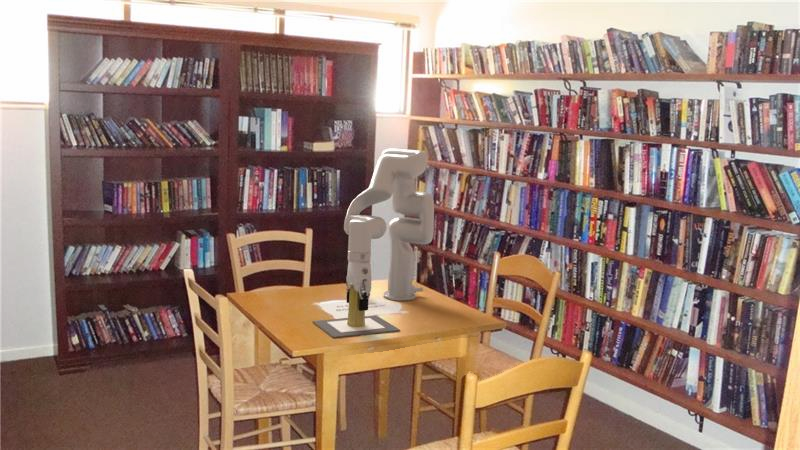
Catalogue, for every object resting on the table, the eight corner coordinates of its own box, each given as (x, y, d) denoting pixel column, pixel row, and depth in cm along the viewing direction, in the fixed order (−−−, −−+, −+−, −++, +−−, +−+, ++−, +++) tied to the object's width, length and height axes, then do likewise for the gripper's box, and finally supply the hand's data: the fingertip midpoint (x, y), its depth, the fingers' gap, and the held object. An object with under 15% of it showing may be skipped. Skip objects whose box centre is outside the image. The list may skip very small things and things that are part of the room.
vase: (366, 322, 248) (368, 281, 246) (363, 327, 242) (365, 285, 240) (348, 321, 249) (350, 280, 247) (345, 326, 243) (347, 284, 241)
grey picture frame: (376, 316, 259) (376, 314, 259) (400, 331, 243) (400, 329, 243) (312, 322, 248) (312, 320, 247) (333, 338, 232) (333, 336, 232)
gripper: (381, 261, 236) (378, 312, 239) (358, 250, 251) (356, 299, 254) (359, 262, 233) (357, 314, 235) (338, 251, 248) (336, 300, 250)
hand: (357, 306), depth 245 cm, fingers open, 9 cm apart
